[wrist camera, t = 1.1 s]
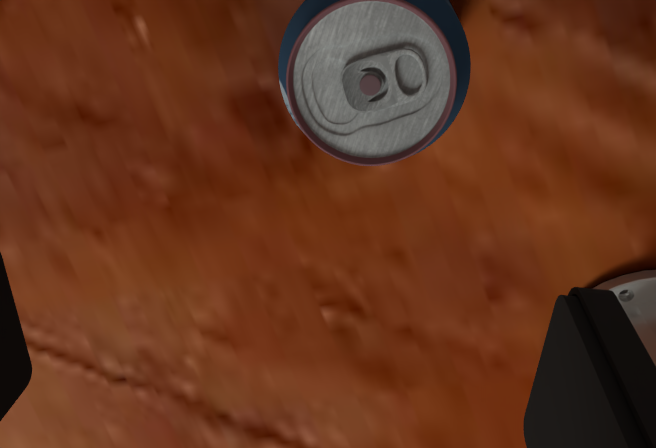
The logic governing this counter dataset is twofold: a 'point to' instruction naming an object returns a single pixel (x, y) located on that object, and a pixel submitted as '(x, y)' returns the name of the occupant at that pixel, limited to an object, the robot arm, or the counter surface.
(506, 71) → the counter surface
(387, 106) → the soda can
